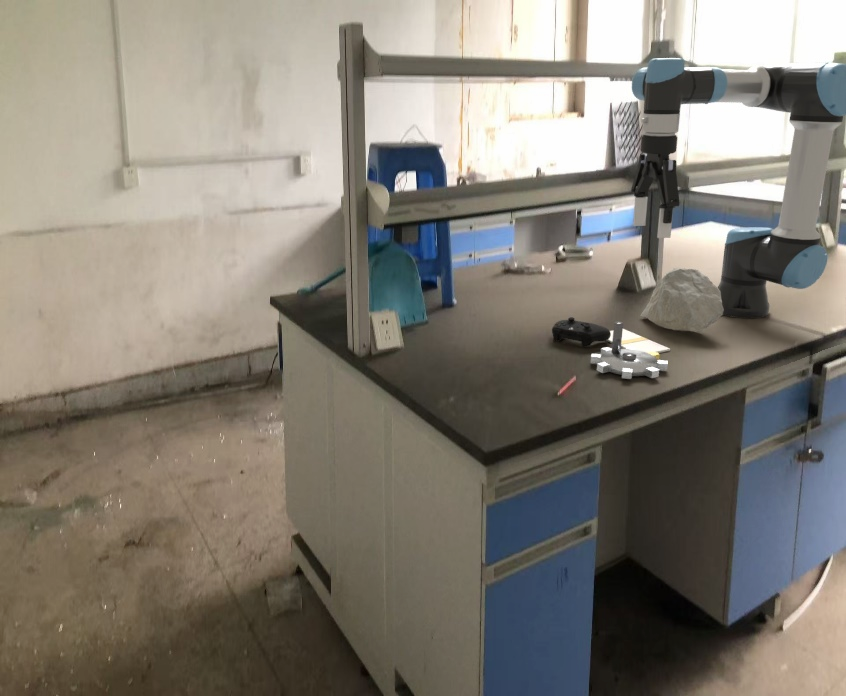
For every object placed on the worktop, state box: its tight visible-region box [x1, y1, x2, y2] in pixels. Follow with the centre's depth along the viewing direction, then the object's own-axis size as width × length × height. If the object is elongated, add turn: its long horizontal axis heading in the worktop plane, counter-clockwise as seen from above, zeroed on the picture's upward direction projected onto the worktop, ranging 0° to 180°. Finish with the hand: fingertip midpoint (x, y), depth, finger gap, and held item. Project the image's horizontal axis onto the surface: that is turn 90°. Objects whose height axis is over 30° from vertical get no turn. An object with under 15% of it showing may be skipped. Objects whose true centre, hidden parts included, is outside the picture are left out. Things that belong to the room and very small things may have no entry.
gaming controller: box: [551, 317, 611, 347], centre depth 194 cm, size 14×6×10 cm
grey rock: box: [640, 266, 724, 333], centre depth 202 cm, size 22×13×15 cm, turn 32°
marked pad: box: [606, 328, 671, 354], centre depth 194 cm, size 9×17×1 cm, turn 26°
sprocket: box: [590, 321, 668, 380], centre depth 176 cm, size 17×17×9 cm
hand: (650, 231), depth 178 cm, fingers open, 13 cm apart
